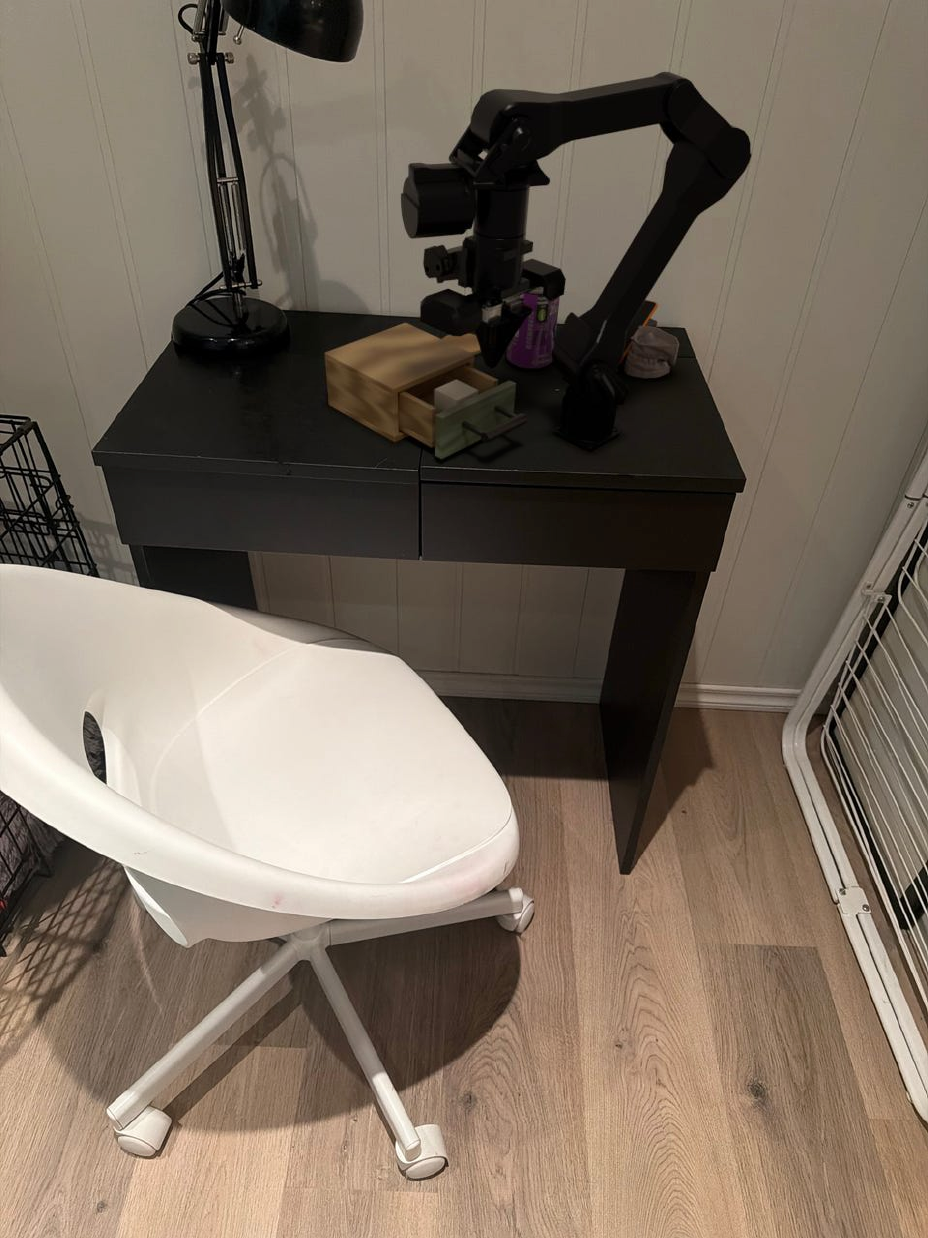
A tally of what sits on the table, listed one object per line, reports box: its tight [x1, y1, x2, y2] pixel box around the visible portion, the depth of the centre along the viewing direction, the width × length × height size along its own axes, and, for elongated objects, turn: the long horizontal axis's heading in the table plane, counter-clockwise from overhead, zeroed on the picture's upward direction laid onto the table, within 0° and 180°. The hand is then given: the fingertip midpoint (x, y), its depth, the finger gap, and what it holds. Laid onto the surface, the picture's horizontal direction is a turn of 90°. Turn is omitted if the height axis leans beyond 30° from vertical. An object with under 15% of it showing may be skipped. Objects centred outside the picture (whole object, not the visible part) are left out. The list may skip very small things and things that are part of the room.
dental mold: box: [623, 326, 680, 379], centre depth 126 cm, size 8×7×5 cm
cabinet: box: [323, 322, 475, 443], centre depth 115 cm, size 14×15×8 cm
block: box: [434, 380, 479, 414], centre depth 109 cm, size 4×4×4 cm
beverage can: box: [505, 287, 561, 370], centre depth 124 cm, size 7×7×12 cm
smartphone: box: [619, 299, 659, 366], centre depth 129 cm, size 8×17×1 cm, turn 147°
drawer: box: [398, 364, 528, 460], centre depth 109 cm, size 17×13×6 cm
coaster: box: [441, 333, 482, 356], centre depth 132 cm, size 7×7×1 cm
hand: (490, 366), depth 101 cm, fingers closed
